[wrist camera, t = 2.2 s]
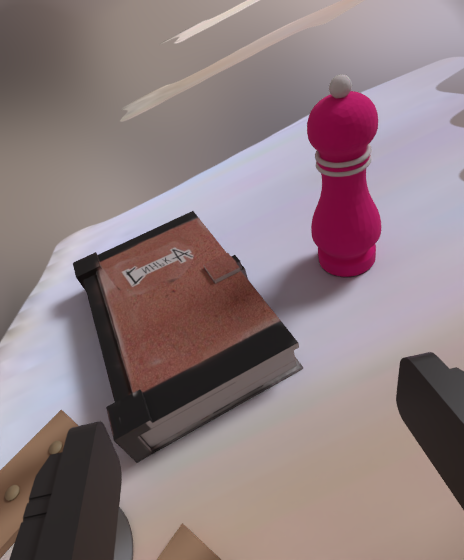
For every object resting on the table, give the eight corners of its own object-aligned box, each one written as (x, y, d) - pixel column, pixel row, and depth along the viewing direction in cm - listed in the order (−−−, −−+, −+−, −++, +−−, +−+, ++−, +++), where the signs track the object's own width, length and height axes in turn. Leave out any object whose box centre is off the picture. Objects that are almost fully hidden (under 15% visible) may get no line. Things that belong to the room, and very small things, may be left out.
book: (310, 367, 37) (304, 335, 33) (138, 464, 34) (113, 440, 30) (206, 234, 55) (196, 205, 52) (91, 290, 52) (72, 262, 49)
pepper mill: (347, 290, 42) (340, 100, 28) (301, 260, 46) (277, 86, 33) (394, 256, 43) (408, 63, 30) (345, 230, 48) (339, 55, 35)
